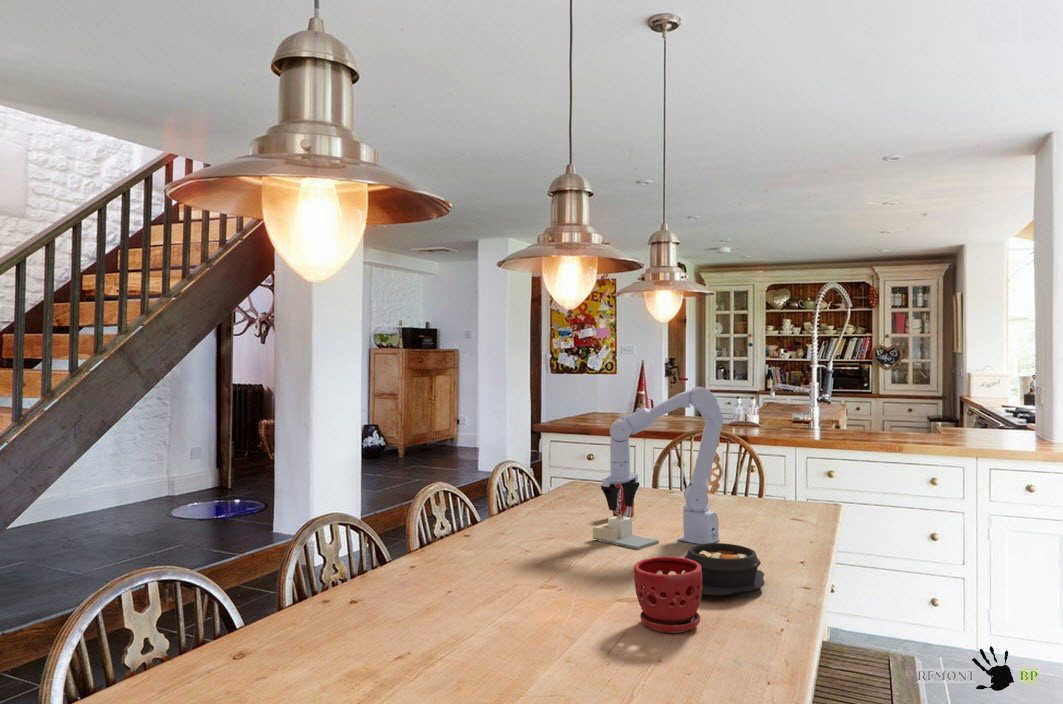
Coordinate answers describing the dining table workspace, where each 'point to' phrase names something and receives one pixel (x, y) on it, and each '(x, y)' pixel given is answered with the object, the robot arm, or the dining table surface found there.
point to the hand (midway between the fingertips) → (620, 508)
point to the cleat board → (611, 537)
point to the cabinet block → (621, 526)
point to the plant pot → (669, 593)
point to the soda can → (623, 505)
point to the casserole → (727, 568)
